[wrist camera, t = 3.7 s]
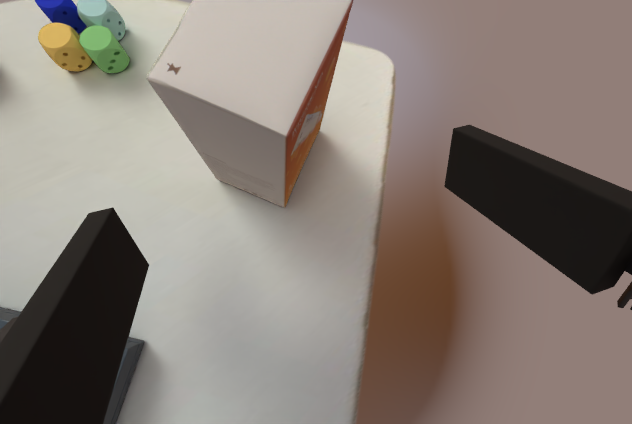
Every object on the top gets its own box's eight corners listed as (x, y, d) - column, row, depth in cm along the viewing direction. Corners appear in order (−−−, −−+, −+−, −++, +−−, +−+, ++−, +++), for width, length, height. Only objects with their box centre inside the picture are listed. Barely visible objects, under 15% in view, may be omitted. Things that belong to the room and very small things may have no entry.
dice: (79, -2, 26) (26, 47, 25) (57, -32, 24) (-4, 22, 22) (153, 45, 26) (104, 97, 25) (139, 20, 23) (83, 77, 22)
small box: (285, 209, 24) (287, 140, 12) (214, 179, 24) (138, 76, 11) (322, 128, 26) (357, -8, 13) (256, 100, 26) (230, -65, 13)
